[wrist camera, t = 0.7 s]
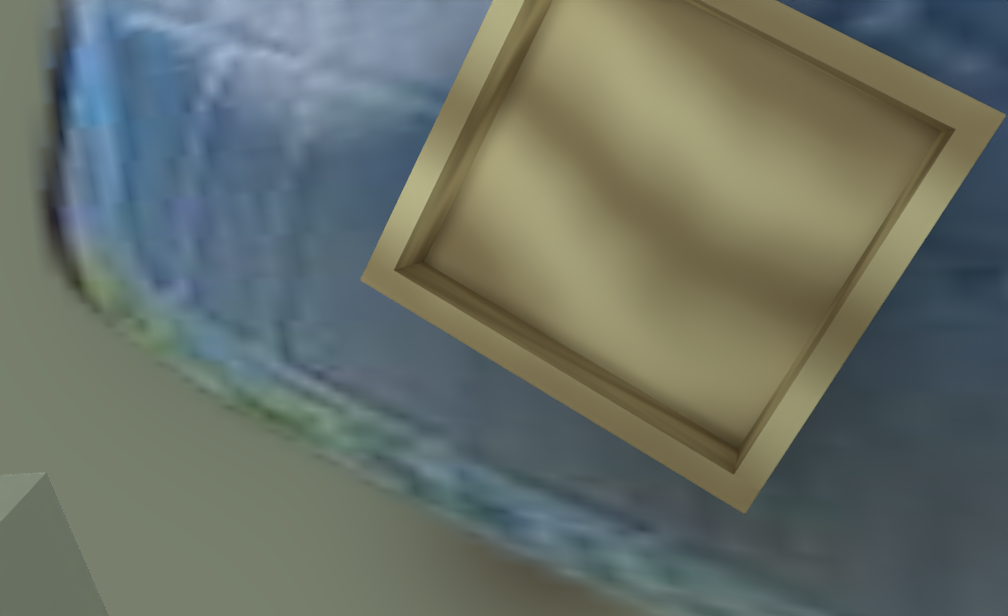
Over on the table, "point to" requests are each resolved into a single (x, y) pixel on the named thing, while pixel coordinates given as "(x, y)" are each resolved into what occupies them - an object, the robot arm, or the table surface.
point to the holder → (675, 214)
